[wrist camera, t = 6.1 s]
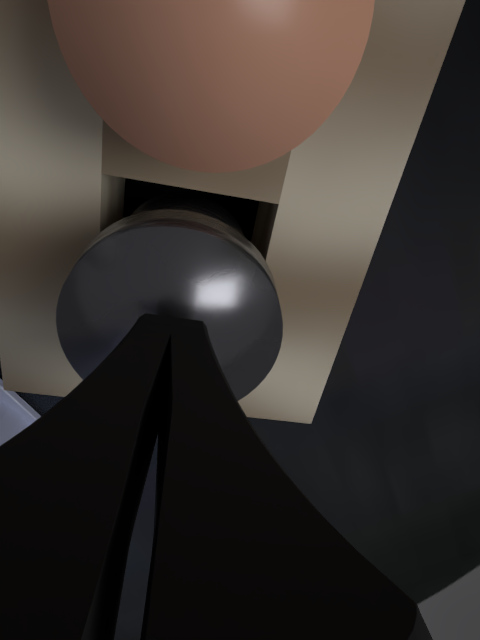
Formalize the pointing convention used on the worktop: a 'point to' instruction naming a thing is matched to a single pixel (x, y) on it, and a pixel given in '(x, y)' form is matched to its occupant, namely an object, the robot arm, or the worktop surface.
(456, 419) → the worktop surface
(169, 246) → the knob
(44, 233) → the console
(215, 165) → the knob middle
